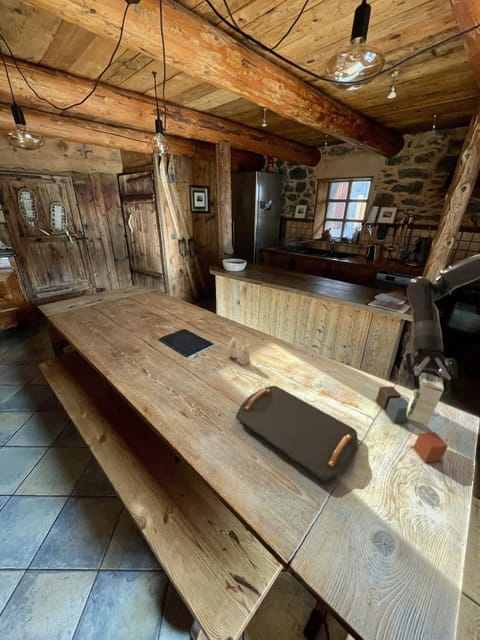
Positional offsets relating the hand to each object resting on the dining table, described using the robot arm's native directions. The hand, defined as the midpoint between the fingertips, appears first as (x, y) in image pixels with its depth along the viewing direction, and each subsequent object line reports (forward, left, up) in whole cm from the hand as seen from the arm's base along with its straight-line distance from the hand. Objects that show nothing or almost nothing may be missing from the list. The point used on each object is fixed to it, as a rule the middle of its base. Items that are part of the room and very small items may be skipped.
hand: (431, 391), depth 78 cm
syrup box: (0, -2, -12) cm, 12 cm away
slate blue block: (0, -9, -19) cm, 21 cm away
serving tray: (+38, -6, -20) cm, 43 cm away
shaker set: (+53, -48, -20) cm, 74 cm away
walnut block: (0, -15, -19) cm, 24 cm away
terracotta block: (0, +6, -19) cm, 20 cm away
